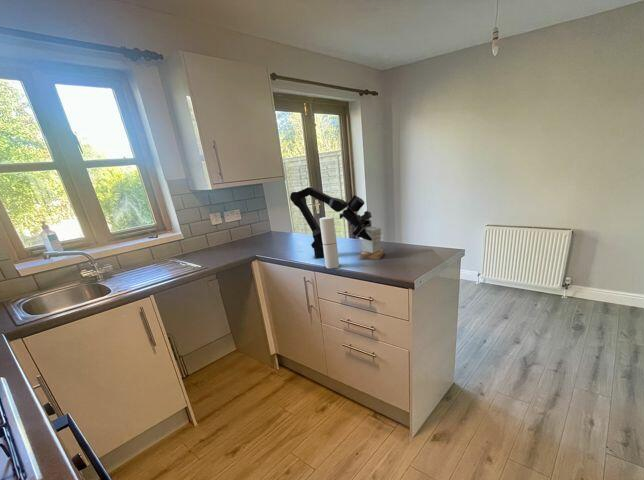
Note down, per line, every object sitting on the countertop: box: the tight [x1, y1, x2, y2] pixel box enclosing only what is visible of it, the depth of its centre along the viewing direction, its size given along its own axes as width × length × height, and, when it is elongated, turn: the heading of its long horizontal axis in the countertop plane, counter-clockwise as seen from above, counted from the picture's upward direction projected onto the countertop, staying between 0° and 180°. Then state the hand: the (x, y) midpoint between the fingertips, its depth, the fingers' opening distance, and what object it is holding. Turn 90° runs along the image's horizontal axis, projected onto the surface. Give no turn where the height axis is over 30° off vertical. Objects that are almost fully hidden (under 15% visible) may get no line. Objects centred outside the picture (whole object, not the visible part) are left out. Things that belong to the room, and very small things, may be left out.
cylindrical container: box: [319, 216, 340, 270], centre depth 159 cm, size 7×7×25 cm
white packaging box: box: [362, 225, 382, 253], centre depth 170 cm, size 7×7×13 cm
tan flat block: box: [359, 248, 385, 260], centre depth 173 cm, size 11×10×3 cm
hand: (373, 238), depth 169 cm, fingers open, 9 cm apart
